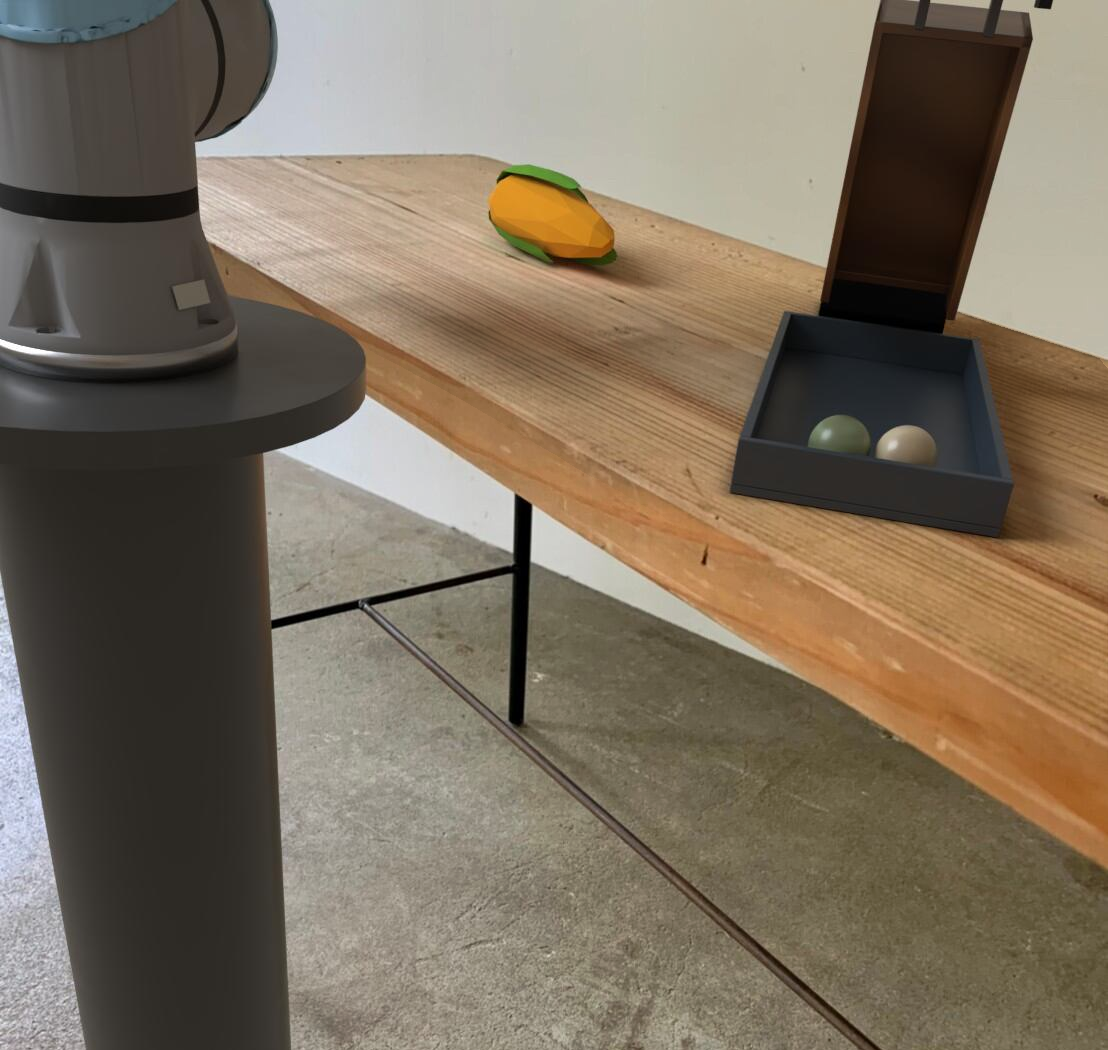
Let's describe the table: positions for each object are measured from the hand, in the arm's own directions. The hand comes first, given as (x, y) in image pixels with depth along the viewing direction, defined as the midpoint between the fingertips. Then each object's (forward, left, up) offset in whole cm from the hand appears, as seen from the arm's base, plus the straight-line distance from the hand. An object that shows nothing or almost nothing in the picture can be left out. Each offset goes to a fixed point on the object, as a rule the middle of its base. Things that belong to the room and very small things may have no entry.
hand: (959, 1), depth 74 cm
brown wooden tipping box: (-2, +2, -7) cm, 8 cm away
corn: (-39, -3, -24) cm, 45 cm away
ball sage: (+15, -18, -21) cm, 32 cm away
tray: (+8, -9, -23) cm, 26 cm away
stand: (-10, +10, -23) cm, 27 cm away
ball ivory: (+18, -16, -21) cm, 32 cm away
